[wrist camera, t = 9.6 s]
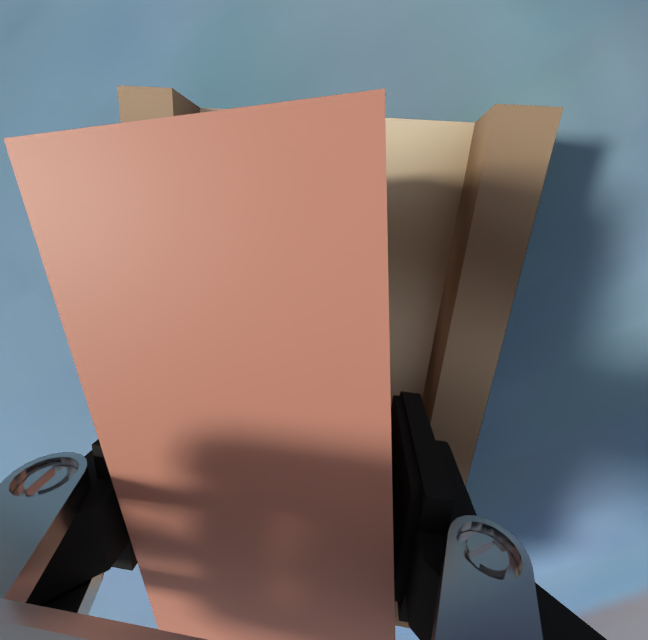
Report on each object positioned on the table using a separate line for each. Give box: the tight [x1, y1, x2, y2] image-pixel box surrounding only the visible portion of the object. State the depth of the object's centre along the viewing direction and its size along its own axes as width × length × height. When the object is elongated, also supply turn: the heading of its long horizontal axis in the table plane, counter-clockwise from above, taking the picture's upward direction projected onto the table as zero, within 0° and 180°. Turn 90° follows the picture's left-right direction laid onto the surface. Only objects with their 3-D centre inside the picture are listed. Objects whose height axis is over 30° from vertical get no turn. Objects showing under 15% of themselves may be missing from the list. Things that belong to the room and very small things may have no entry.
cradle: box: [117, 85, 563, 628], centre depth 12 cm, size 18×11×2 cm, turn 176°
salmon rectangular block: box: [4, 89, 395, 640], centre depth 9 cm, size 16×5×5 cm, turn 4°
